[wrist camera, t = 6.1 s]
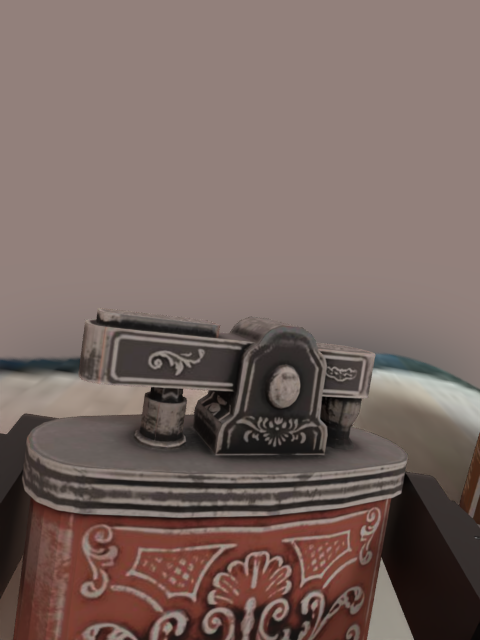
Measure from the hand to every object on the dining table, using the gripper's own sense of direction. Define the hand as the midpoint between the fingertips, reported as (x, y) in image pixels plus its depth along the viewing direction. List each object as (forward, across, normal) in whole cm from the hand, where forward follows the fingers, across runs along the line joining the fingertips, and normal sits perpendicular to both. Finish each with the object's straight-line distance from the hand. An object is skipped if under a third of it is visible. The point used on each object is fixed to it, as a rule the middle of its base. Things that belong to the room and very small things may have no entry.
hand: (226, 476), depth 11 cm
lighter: (-3, 0, +6) cm, 7 cm away
